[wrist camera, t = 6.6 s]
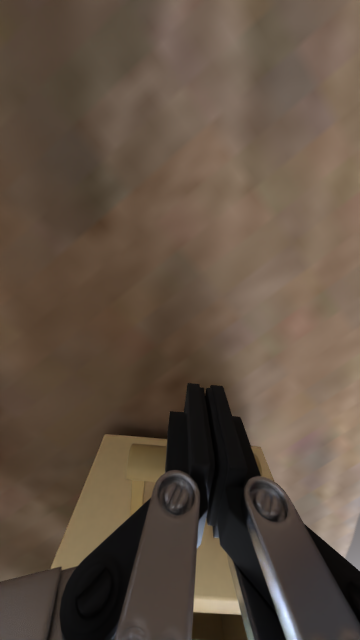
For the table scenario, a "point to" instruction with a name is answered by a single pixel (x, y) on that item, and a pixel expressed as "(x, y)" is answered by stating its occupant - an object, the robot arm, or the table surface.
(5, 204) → the table surface
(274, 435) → the table surface
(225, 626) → the drawer
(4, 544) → the table surface
